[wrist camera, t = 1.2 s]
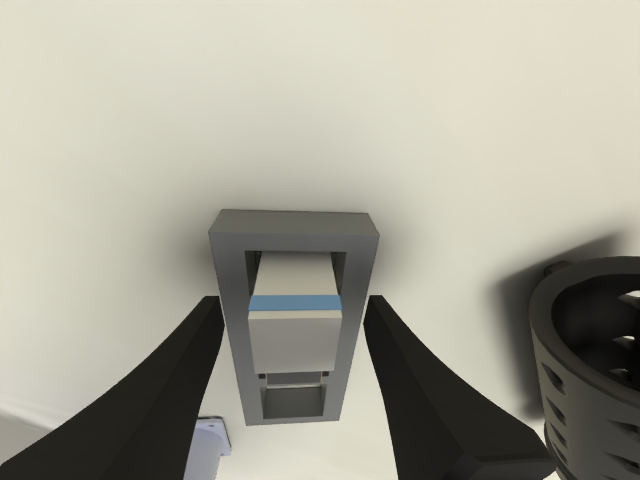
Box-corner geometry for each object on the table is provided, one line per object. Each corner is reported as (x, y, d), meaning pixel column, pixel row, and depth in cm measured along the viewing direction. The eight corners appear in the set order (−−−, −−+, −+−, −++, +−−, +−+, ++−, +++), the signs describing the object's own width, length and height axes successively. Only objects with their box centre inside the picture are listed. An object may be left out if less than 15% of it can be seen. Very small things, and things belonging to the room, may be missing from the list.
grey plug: (267, 284, 16) (253, 374, 11) (264, 236, 14) (246, 318, 9) (323, 284, 17) (334, 371, 12) (327, 237, 15) (343, 316, 10)
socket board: (250, 396, 23) (244, 437, 20) (221, 209, 13) (202, 241, 11) (335, 392, 24) (340, 431, 21) (368, 213, 14) (384, 243, 11)
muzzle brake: (627, 222, 16) (1026, 387, 7) (603, 398, 30) (731, 530, 21) (479, 284, 18) (652, 473, 9) (520, 423, 32) (605, 552, 23)
